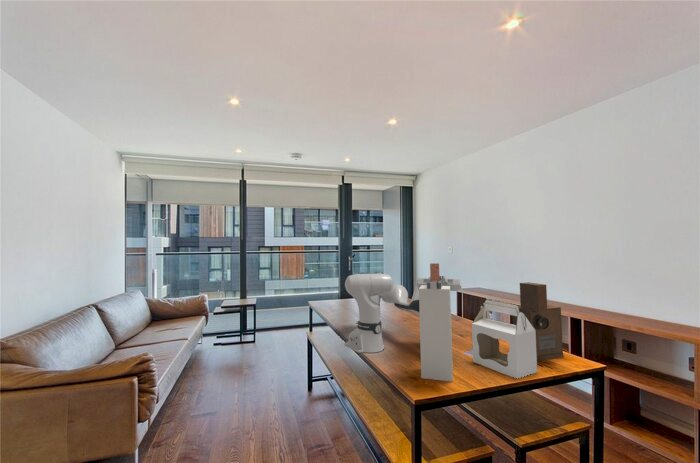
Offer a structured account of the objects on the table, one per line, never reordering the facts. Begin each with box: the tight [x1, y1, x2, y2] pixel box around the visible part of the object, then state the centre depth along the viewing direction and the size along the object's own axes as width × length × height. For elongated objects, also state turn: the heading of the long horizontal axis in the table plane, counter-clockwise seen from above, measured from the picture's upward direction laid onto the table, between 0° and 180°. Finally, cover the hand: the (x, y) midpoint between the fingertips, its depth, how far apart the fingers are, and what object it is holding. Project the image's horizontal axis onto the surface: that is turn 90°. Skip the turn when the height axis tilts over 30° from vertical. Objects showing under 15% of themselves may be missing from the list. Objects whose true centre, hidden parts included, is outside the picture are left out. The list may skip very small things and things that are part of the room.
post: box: [419, 280, 454, 383], centre depth 131 cm, size 10×12×38 cm
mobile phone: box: [463, 349, 473, 357], centre depth 157 cm, size 8×1×15 cm
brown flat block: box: [429, 262, 442, 289], centre depth 137 cm, size 26×4×10 cm, turn 161°
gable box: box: [471, 299, 538, 380], centre depth 138 cm, size 22×13×28 cm, turn 28°
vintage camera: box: [512, 281, 565, 363], centre depth 149 cm, size 19×14×35 cm
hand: (437, 277), depth 147 cm, fingers open, 4 cm apart
